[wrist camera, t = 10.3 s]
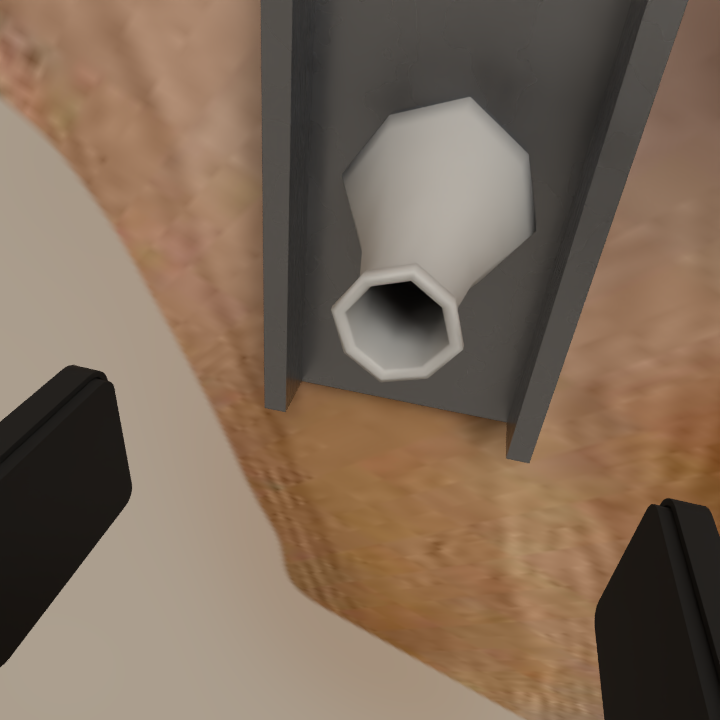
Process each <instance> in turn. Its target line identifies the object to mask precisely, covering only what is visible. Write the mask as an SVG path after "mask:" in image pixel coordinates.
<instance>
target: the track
mask: <svg viewBox="0 0 720 720" xmlns="http://www.w3.org/2000/svg"><path fill="white" fill-rule="evenodd" d="M687 2H688V0H261V72H262V174H263V276H264V378H265V408H268V409H273V410H278V411H283V412H286V411H287V409H288V407H289V405H290V403H291V401H292V399H293V397H294V395H295V393H296V391H297V389H298V387H299V385H300V383H301V381H305V382H310V383H315V384H320V385H324V386H329V387H334V388H339V389H344V390H349V391H354V392H359V393H364V394H369V395H374V396H379V397H384V398H389V399H394V400H399V401H404V402H409V403H414V404H418V405H423V406H428V407H433V408H438V409H443V410H448V411H453V412H458V413H463V414H468V415H473V416H478V417H483V418H488V419H493V420H498V421H503V422H507V431H506V459H511V460H516V461H521V462H525V463H530V460H531V457H532V454H533V451H534V448H535V445H536V442H537V439H538V436H539V434H540V431H541V428H542V425H543V422H544V419H545V416H546V413H547V410H548V407H549V404H550V402H551V399H552V396H553V393H554V390H555V387H556V384H557V381H558V378H559V375H560V372H561V369H562V367H563V364H564V361H565V358H566V355H567V352H568V349H569V346H570V343H571V340H572V337H573V334H574V332H575V329H576V326H577V323H578V320H579V317H580V314H581V311H582V308H583V305H584V302H585V300H586V297H587V294H588V291H589V288H590V285H591V282H592V279H593V276H594V273H595V270H596V267H597V265H598V262H599V259H600V256H601V253H602V250H603V247H604V244H605V241H606V238H607V235H608V233H609V230H610V227H611V224H612V221H613V218H614V215H615V212H616V209H617V206H618V203H619V200H620V198H621V195H622V192H623V189H624V186H625V183H626V180H627V177H628V174H629V171H630V168H631V166H632V163H633V160H634V157H635V154H636V151H637V148H638V145H639V142H640V139H641V136H642V133H643V131H644V128H645V125H646V122H647V119H648V116H649V113H650V110H651V107H652V104H653V101H654V98H655V96H656V93H657V90H658V87H659V84H660V81H661V78H662V75H663V72H664V69H665V66H666V64H667V61H668V58H669V55H670V52H671V49H672V46H673V43H674V40H675V37H676V34H677V31H678V29H679V26H680V23H681V20H682V17H683V14H684V11H685V8H686V5H687ZM466 97H471V98H472V99H473V100H474V101H475V102H476V103H477V104H478V105H479V106H480V107H481V108H482V109H483V110H484V111H485V112H486V113H487V114H488V115H489V116H490V117H491V118H492V119H493V120H494V121H496V122H497V123H498V124H499V125H500V126H501V127H502V128H503V129H504V130H505V131H506V132H507V133H508V134H509V135H510V136H511V137H512V138H513V139H514V140H515V141H516V142H517V143H518V144H519V145H520V146H521V147H522V148H523V149H524V150H525V151H526V152H527V153H528V154H529V161H530V172H531V182H532V192H533V202H534V212H535V223H536V232H535V233H533V234H532V235H531V236H530V237H529V238H528V239H527V240H526V241H524V242H523V243H522V244H521V245H520V246H519V247H518V248H517V249H515V250H514V251H513V252H512V253H511V254H510V255H509V256H508V257H507V258H505V259H504V260H503V261H502V262H501V263H500V264H499V265H498V266H496V267H495V268H494V269H493V270H492V271H491V272H490V273H489V274H487V275H486V276H485V277H484V278H483V279H482V280H481V281H480V282H478V283H477V284H476V285H474V286H473V287H471V288H470V289H469V290H468V292H467V294H466V295H465V297H464V298H463V300H462V302H461V303H460V305H459V307H458V315H459V321H460V326H461V332H462V337H463V343H464V347H463V350H462V351H461V352H460V353H458V354H457V355H456V356H455V357H453V358H452V359H451V360H450V361H449V362H447V363H446V364H445V365H444V366H443V367H441V368H440V369H439V370H438V371H436V372H435V373H434V374H433V375H432V376H430V377H429V378H428V379H417V380H404V381H392V382H380V381H378V380H377V379H376V378H375V377H373V376H372V375H371V374H370V373H368V372H367V371H366V370H365V369H363V368H362V367H361V366H360V365H359V364H357V363H356V362H355V361H354V360H352V359H351V358H350V357H349V356H347V355H346V354H345V353H344V351H343V348H342V345H341V341H340V338H339V335H338V331H337V328H336V325H335V321H334V318H333V315H332V311H331V309H332V306H333V305H334V304H335V303H336V302H337V301H338V299H339V298H340V297H341V296H342V295H343V294H344V293H345V292H346V291H347V290H348V289H349V288H350V287H351V286H352V285H353V284H354V283H355V281H356V280H357V279H358V278H359V277H360V269H361V257H362V251H361V247H360V243H359V239H358V236H357V232H356V228H355V224H354V220H353V216H352V212H351V208H350V205H349V201H348V197H347V193H346V189H345V185H344V181H343V177H342V174H343V173H344V171H345V170H346V169H347V168H348V166H349V165H350V164H351V163H352V161H353V160H354V159H355V158H356V156H357V155H358V154H359V153H360V151H361V150H362V149H363V148H364V146H365V145H366V144H367V143H368V141H369V140H370V139H371V138H372V136H373V135H374V134H375V133H376V131H377V130H378V129H379V128H380V126H381V125H382V124H383V123H384V121H385V120H386V119H387V118H388V116H389V115H391V114H396V113H400V112H405V111H409V110H414V109H418V108H422V107H427V106H431V105H436V104H440V103H444V102H449V101H453V100H458V99H462V98H466Z"/></svg>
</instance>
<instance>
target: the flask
mask: <svg viewBox="0 0 720 720" xmlns="http://www.w3.org/2000/svg"><path fill="white" fill-rule="evenodd" d="M342 177H343V181H344V185H345V189H346V193H347V197H348V201H349V205H350V208H351V212H352V216H353V220H354V224H355V228H356V232H357V236H358V239H359V243H360V247H361V251H362V257H361V269H360V277H359V278H358V279H357V280H356V281H355V283H354V284H353V285H352V286H351V287H350V288H349V289H348V290H347V291H346V292H345V293H344V294H343V295H342V296H341V297H340V298H339V299H338V301H337V302H336V303H335V304H334V305H333V306H332V309H331V311H332V315H333V318H334V321H335V325H336V328H337V331H338V335H339V338H340V341H341V345H342V348H343V351H344V353H345V354H346V355H347V356H349V357H350V358H351V359H352V360H354V361H355V362H356V363H357V364H359V365H360V366H361V367H362V368H363V369H365V370H366V371H367V372H368V373H370V374H371V375H372V376H373V377H375V378H376V379H377V380H378V381H380V382H392V381H404V380H417V379H428V378H429V377H430V376H432V375H433V374H434V373H435V372H436V371H438V370H439V369H440V368H441V367H443V366H444V365H445V364H446V363H447V362H449V361H450V360H451V359H452V358H453V357H455V356H456V355H457V354H458V353H460V352H461V351H462V350H463V347H464V343H463V337H462V332H461V326H460V321H459V315H458V307H459V305H460V303H461V302H462V300H463V298H464V297H465V295H466V294H467V292H468V290H469V289H470V288H471V287H473V286H474V285H476V284H477V283H478V282H480V281H481V280H482V279H483V278H484V277H485V276H486V275H487V274H489V273H490V272H491V271H492V270H493V269H494V268H495V267H496V266H498V265H499V264H500V263H501V262H502V261H503V260H504V259H505V258H507V257H508V256H509V255H510V254H511V253H512V252H513V251H514V250H515V249H517V248H518V247H519V246H520V245H521V244H522V243H523V242H524V241H526V240H527V239H528V238H529V237H530V236H531V235H532V234H533V233H535V232H536V223H535V212H534V202H533V192H532V182H531V172H530V161H529V154H528V153H527V152H526V151H525V150H524V149H523V148H522V147H521V146H520V145H519V144H518V143H517V142H516V141H515V140H514V139H513V138H512V137H511V136H510V135H509V134H508V133H507V132H506V131H505V130H504V129H503V128H502V127H501V126H500V125H499V124H498V123H497V122H496V121H494V120H493V119H492V118H491V117H490V116H489V115H488V114H487V113H486V112H485V111H484V110H483V109H482V108H481V107H480V106H479V105H478V104H477V103H476V102H475V101H474V100H473V99H472V98H471V97H466V98H462V99H458V100H453V101H449V102H444V103H440V104H436V105H431V106H427V107H422V108H418V109H414V110H409V111H405V112H400V113H396V114H391V115H389V116H388V118H387V119H386V120H385V121H384V123H383V124H382V125H381V126H380V128H379V129H378V130H377V131H376V133H375V134H374V135H373V136H372V138H371V139H370V140H369V141H368V143H367V144H366V145H365V146H364V148H363V149H362V150H361V151H360V153H359V154H358V155H357V156H356V158H355V159H354V160H353V161H352V163H351V164H350V165H349V166H348V168H347V169H346V170H345V171H344V173H343V174H342Z"/></svg>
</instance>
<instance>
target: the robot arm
mask: <svg viewBox="0 0 720 720" xmlns="http://www.w3.org/2000/svg"><path fill="white" fill-rule="evenodd" d="M131 492H132V482H131V477H130V471H129V466H128V460H127V455H126V449H125V444H124V438H123V433H122V427H121V422H120V416H119V411H118V406H117V400H116V395H115V389H114V386H113V384H112V383H111V382H109V381H108V380H107V377H106V375H105V374H104V373H103V372H101V371H97V370H93V369H88V368H84V367H79V366H75V365H71V366H67V367H65V368H64V369H63V370H62V371H60V372H59V373H58V374H57V375H55V376H54V377H53V378H52V379H51V380H49V381H48V382H47V383H46V384H45V385H43V386H42V387H41V388H40V389H39V390H38V391H36V392H35V393H34V394H33V395H32V396H30V397H29V398H28V399H27V400H26V401H24V402H23V403H22V404H21V405H20V406H18V407H17V408H16V409H15V410H14V411H12V412H11V413H10V414H9V415H8V416H7V417H5V418H4V419H3V420H2V421H1V422H0V667H1V666H2V665H3V664H5V662H6V661H7V660H8V659H9V658H10V657H11V655H12V654H13V653H14V651H15V650H16V649H17V647H18V646H19V645H20V644H21V642H22V641H23V640H24V638H25V637H26V636H27V634H28V633H29V632H30V630H31V629H32V628H33V627H34V625H35V624H36V623H37V621H38V620H39V619H40V617H41V616H42V614H43V613H44V612H45V611H46V609H47V608H48V607H49V606H50V604H51V603H52V602H53V600H54V599H55V598H56V596H57V595H58V594H59V592H60V591H61V590H62V588H63V587H64V586H65V585H66V583H67V582H68V581H69V579H70V578H71V577H72V575H73V574H74V573H75V571H76V570H77V569H78V568H79V566H80V565H81V564H82V562H83V561H84V560H85V558H86V557H87V556H88V554H89V553H90V552H91V550H92V549H93V548H94V547H95V545H96V544H97V542H98V541H99V540H100V539H101V537H102V536H103V535H104V533H105V532H106V531H107V529H108V528H109V527H110V525H111V524H112V523H113V522H114V520H115V519H116V518H117V516H118V515H119V513H120V512H121V511H122V510H123V508H124V507H125V506H126V504H127V503H128V501H129V499H130V496H131ZM595 634H596V643H597V653H598V662H599V671H600V681H601V690H602V700H603V709H604V719H605V720H720V536H719V534H718V531H717V528H716V525H715V522H714V519H713V516H712V514H711V512H710V510H709V509H708V508H707V507H706V506H701V505H697V504H692V503H688V502H683V501H679V500H674V499H670V498H666V499H665V500H663V501H662V503H661V504H660V506H659V505H655V504H651V505H650V506H649V507H648V509H647V510H646V512H645V514H644V516H643V518H642V520H641V522H640V524H639V525H638V527H637V529H636V531H635V533H634V535H633V537H632V539H631V541H630V543H629V545H628V547H627V548H626V550H625V552H624V554H623V556H622V558H621V560H620V562H619V564H618V566H617V568H616V569H615V571H614V573H613V575H612V577H611V579H610V581H609V583H608V585H607V587H606V589H605V590H604V592H603V594H602V596H601V598H600V600H599V602H598V604H597V608H596V612H595Z"/></svg>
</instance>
